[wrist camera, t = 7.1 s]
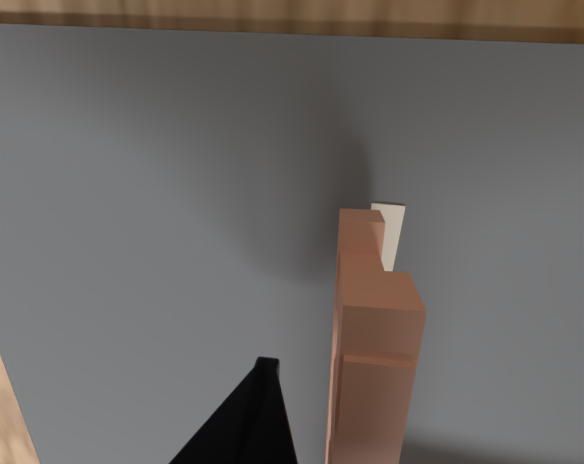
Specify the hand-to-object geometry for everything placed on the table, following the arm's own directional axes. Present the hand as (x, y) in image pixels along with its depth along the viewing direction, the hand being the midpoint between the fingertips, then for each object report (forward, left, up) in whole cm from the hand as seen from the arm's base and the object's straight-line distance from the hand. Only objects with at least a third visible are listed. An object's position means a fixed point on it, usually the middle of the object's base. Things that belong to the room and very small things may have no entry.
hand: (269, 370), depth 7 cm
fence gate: (-2, +3, -2) cm, 4 cm away
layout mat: (0, +4, -2) cm, 4 cm away
